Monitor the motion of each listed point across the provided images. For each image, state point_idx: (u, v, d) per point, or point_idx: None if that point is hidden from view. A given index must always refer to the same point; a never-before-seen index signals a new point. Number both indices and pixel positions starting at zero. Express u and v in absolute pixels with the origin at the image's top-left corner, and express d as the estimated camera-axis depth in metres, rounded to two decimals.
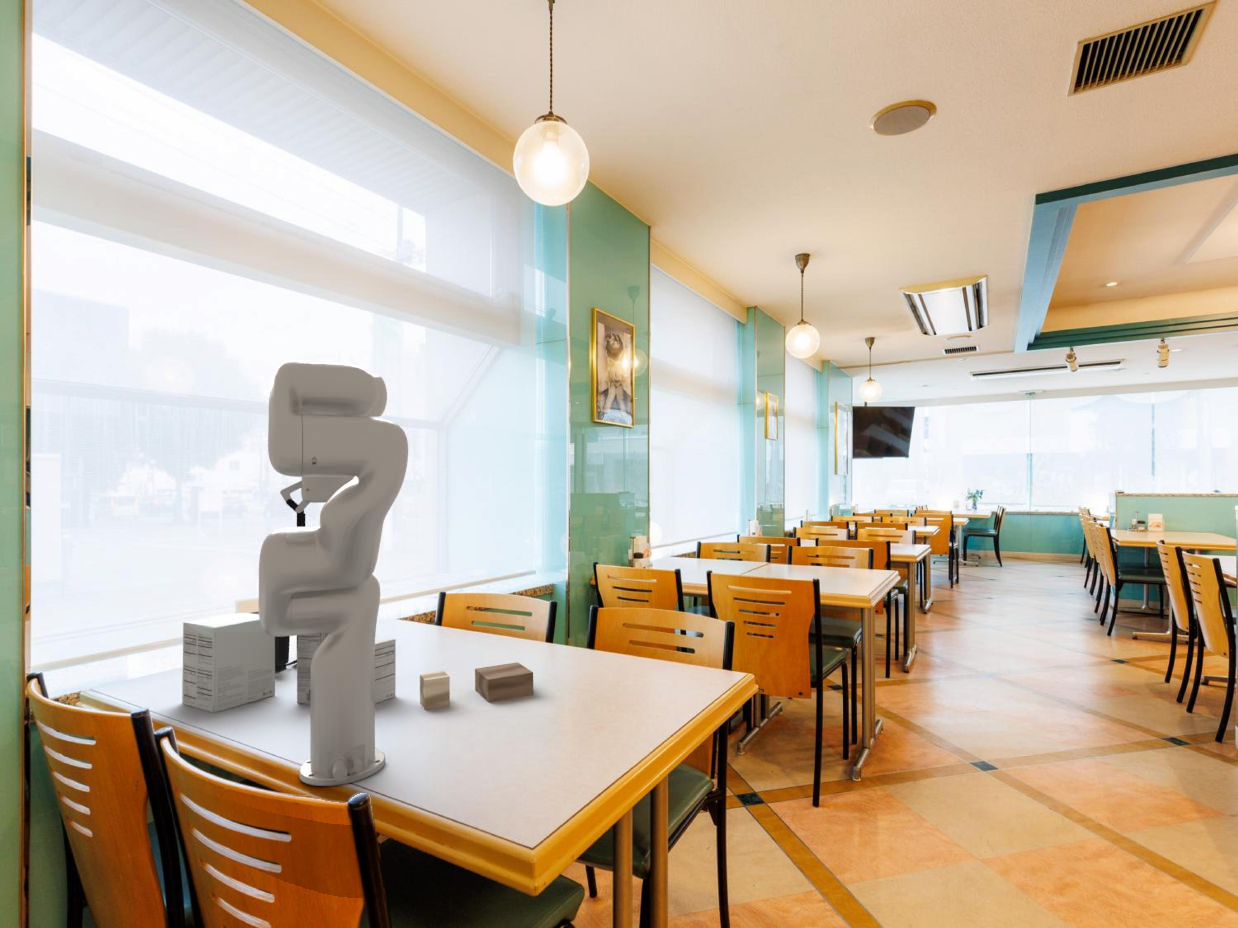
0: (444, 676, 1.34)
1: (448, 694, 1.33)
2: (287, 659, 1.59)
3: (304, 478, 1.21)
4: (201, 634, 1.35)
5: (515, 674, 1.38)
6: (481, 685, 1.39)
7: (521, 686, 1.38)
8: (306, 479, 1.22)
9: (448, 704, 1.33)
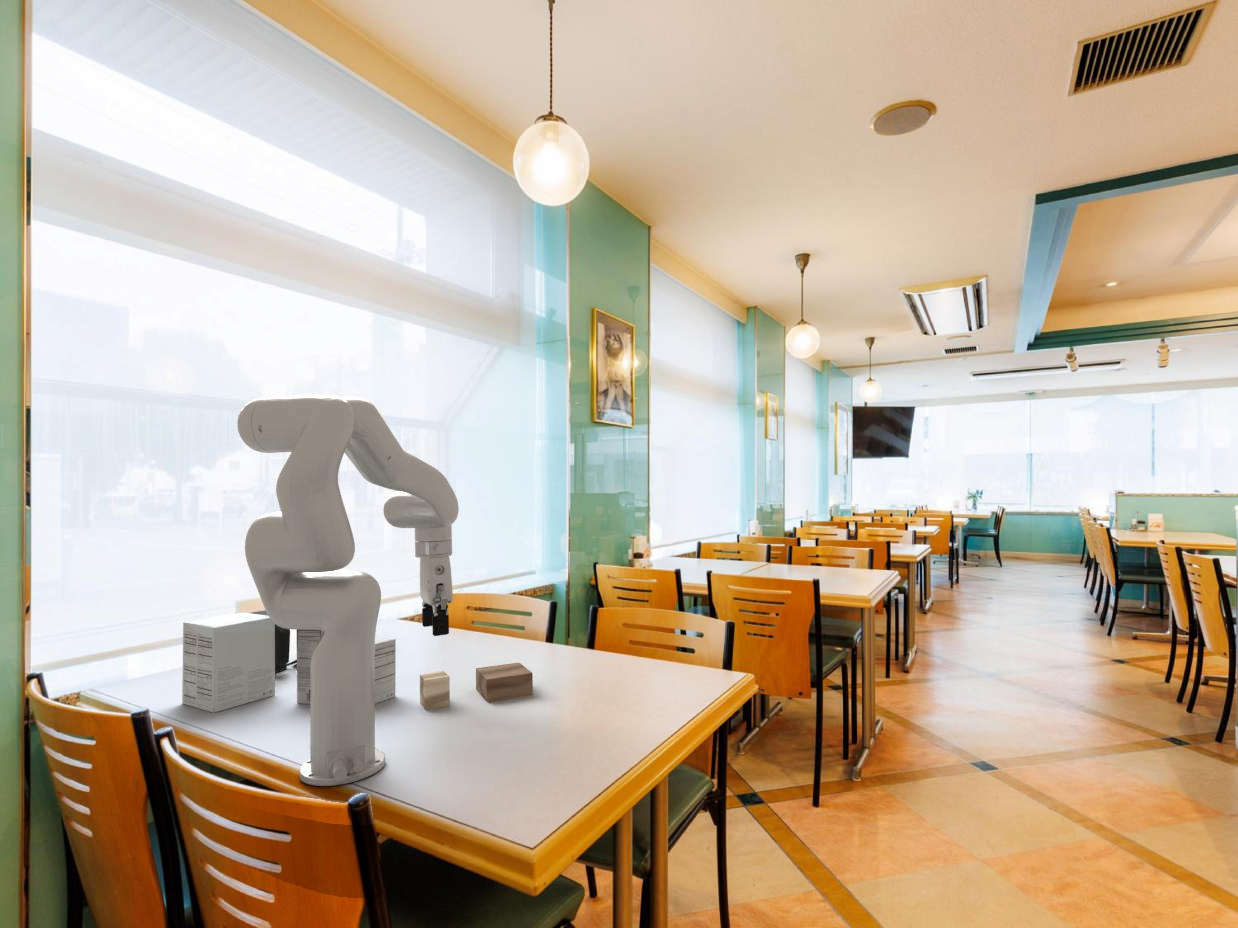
0: (444, 676, 1.34)
1: (448, 694, 1.33)
2: (287, 659, 1.60)
3: (451, 581, 1.33)
4: (201, 634, 1.35)
5: (514, 674, 1.38)
6: (481, 684, 1.40)
7: (520, 686, 1.38)
8: (451, 582, 1.33)
9: (448, 704, 1.33)
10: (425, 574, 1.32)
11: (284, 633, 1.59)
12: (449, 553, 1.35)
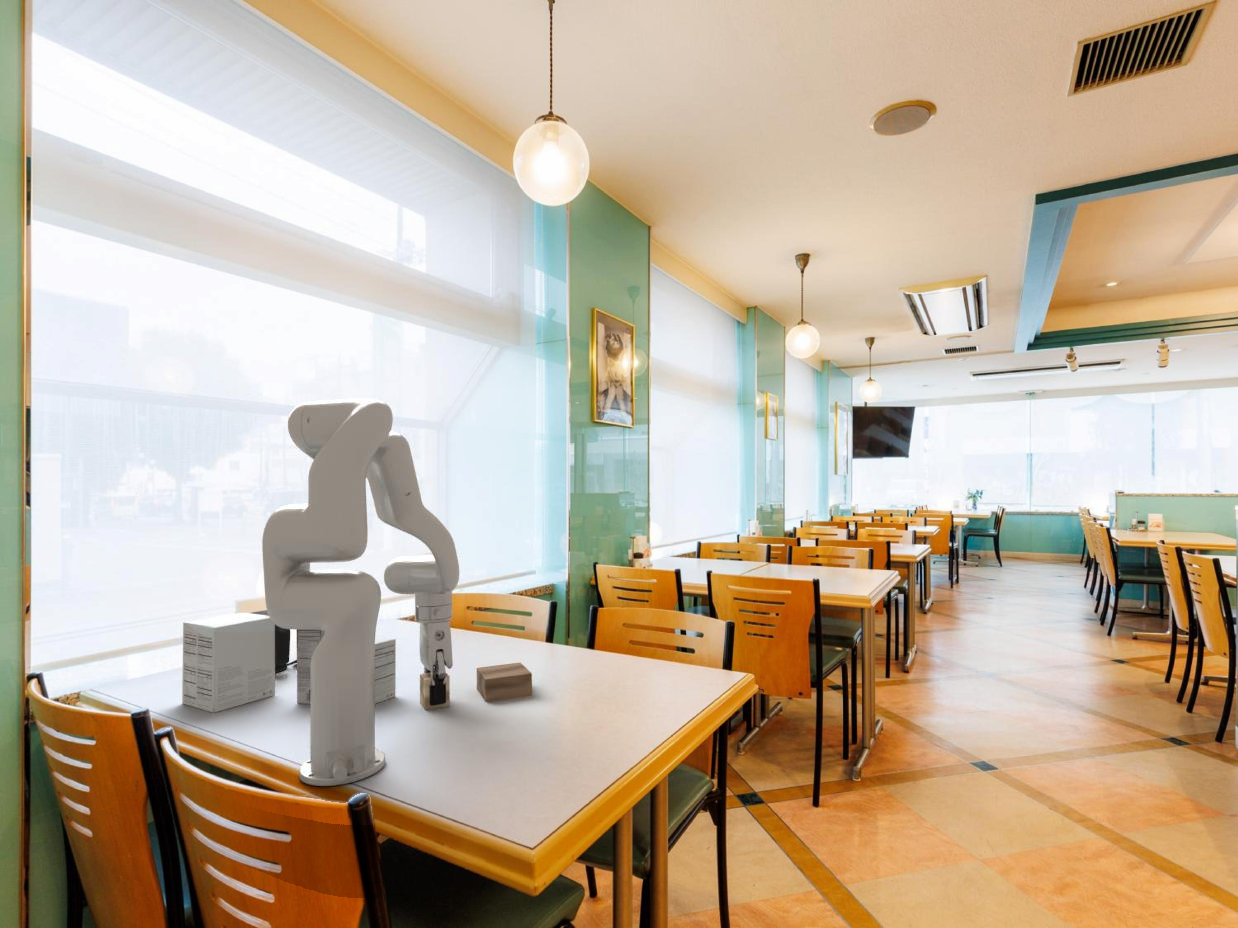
0: None
1: (448, 694, 1.33)
2: (288, 659, 1.60)
3: (451, 647, 1.32)
4: (201, 634, 1.35)
5: (513, 674, 1.38)
6: (480, 684, 1.40)
7: (519, 687, 1.38)
8: (451, 647, 1.32)
9: (448, 704, 1.33)
10: (425, 639, 1.31)
11: (284, 633, 1.59)
12: (449, 617, 1.34)
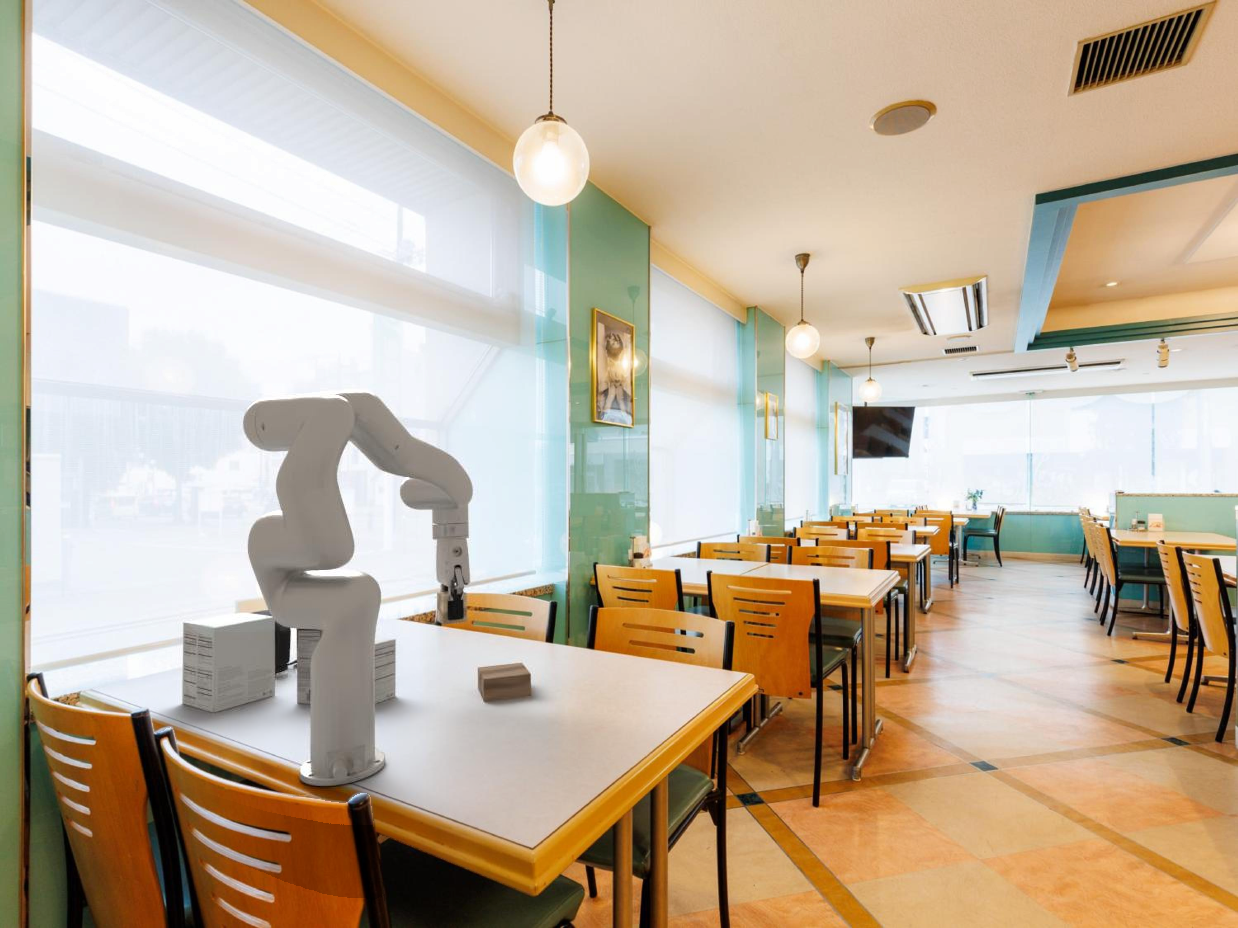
0: None
1: (466, 610, 1.36)
2: (288, 659, 1.60)
3: (468, 563, 1.35)
4: (201, 634, 1.35)
5: (512, 675, 1.38)
6: (480, 684, 1.40)
7: (518, 687, 1.38)
8: None
9: (465, 620, 1.36)
10: (443, 556, 1.34)
11: (285, 633, 1.59)
12: (466, 536, 1.37)
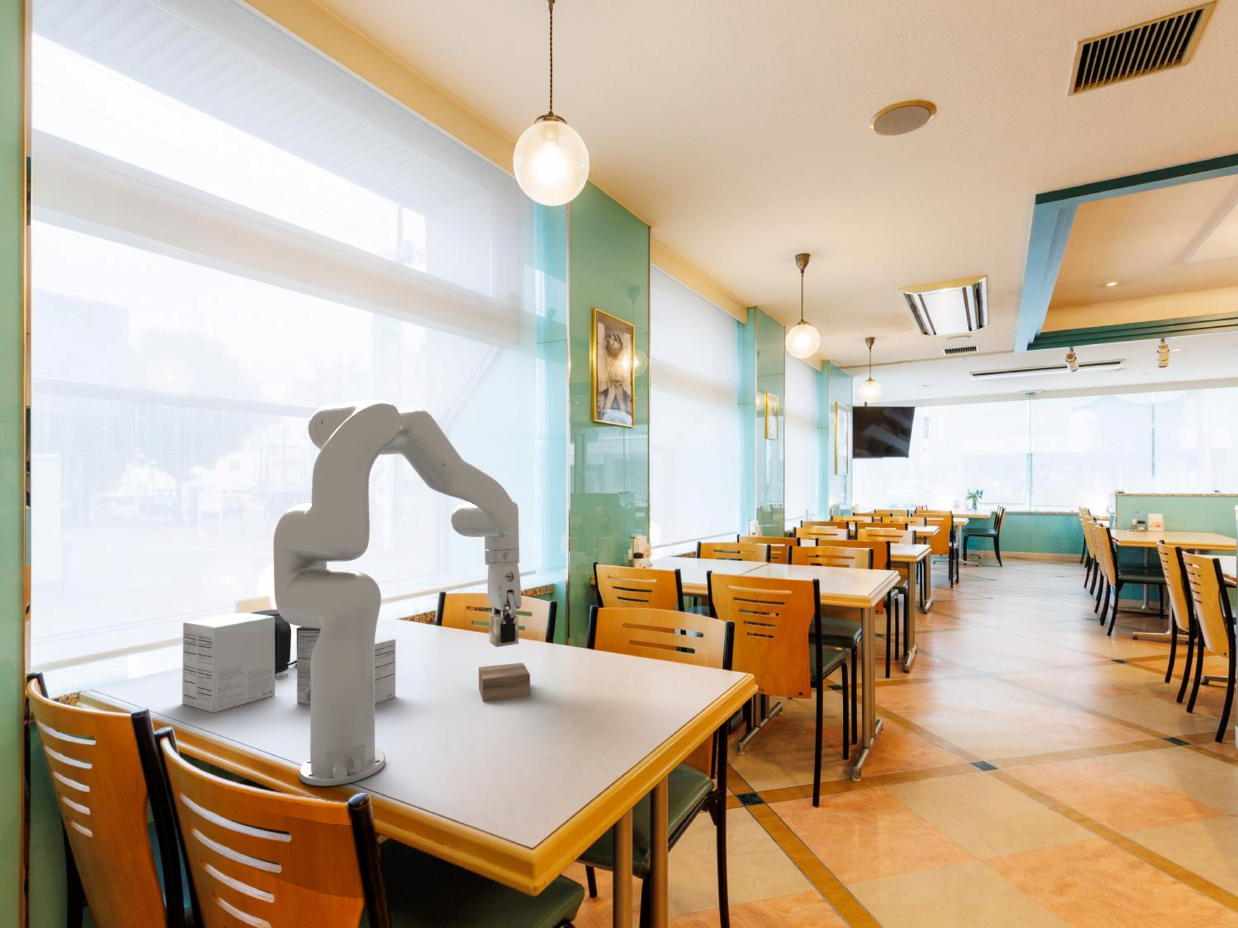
0: None
1: (517, 633, 1.41)
2: (288, 658, 1.60)
3: (520, 588, 1.40)
4: (201, 634, 1.35)
5: (511, 675, 1.38)
6: (480, 683, 1.40)
7: (517, 687, 1.37)
8: (520, 588, 1.40)
9: (517, 642, 1.41)
10: (496, 581, 1.39)
11: (285, 633, 1.59)
12: (517, 561, 1.42)
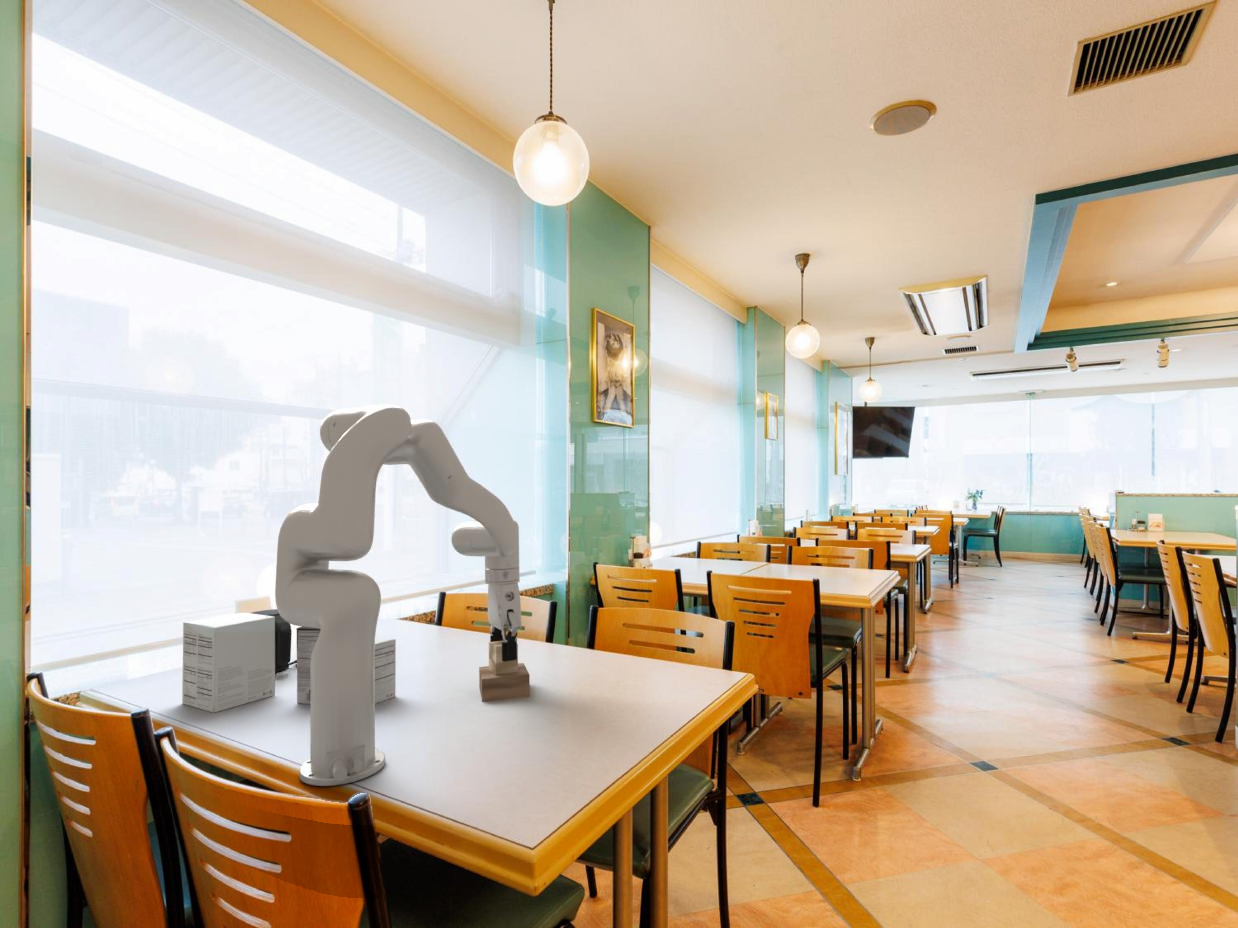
0: None
1: (517, 661, 1.41)
2: (289, 658, 1.60)
3: (520, 607, 1.39)
4: (201, 634, 1.35)
5: (511, 675, 1.38)
6: (480, 683, 1.40)
7: (516, 687, 1.37)
8: (520, 608, 1.40)
9: (516, 670, 1.40)
10: (496, 600, 1.39)
11: (286, 633, 1.59)
12: (517, 580, 1.42)
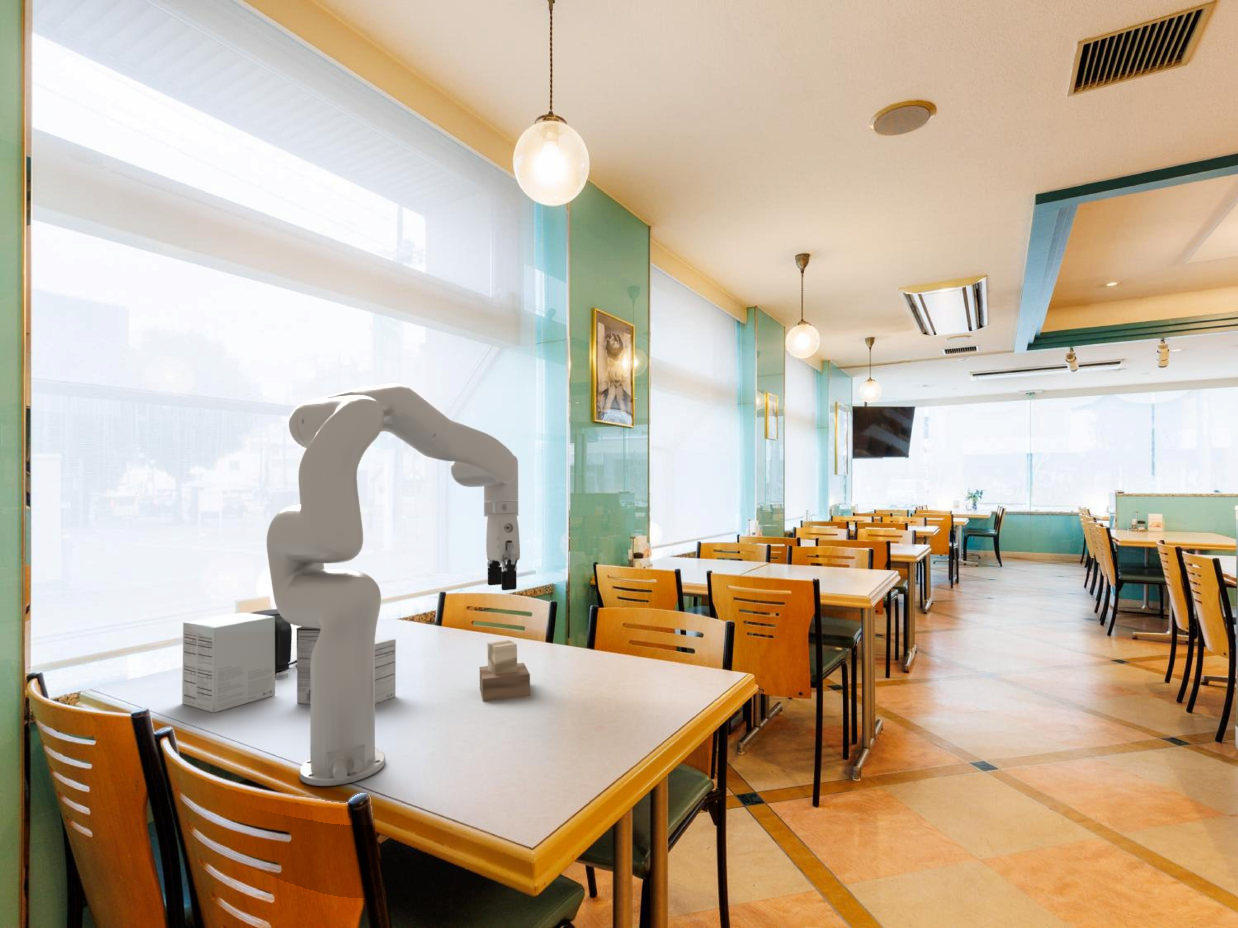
0: (512, 644, 1.41)
1: (516, 661, 1.41)
2: (289, 658, 1.60)
3: None
4: (201, 634, 1.35)
5: (511, 675, 1.38)
6: None
7: (517, 687, 1.38)
8: None
9: (516, 670, 1.41)
10: (495, 532, 1.39)
11: (286, 633, 1.59)
12: (516, 513, 1.42)
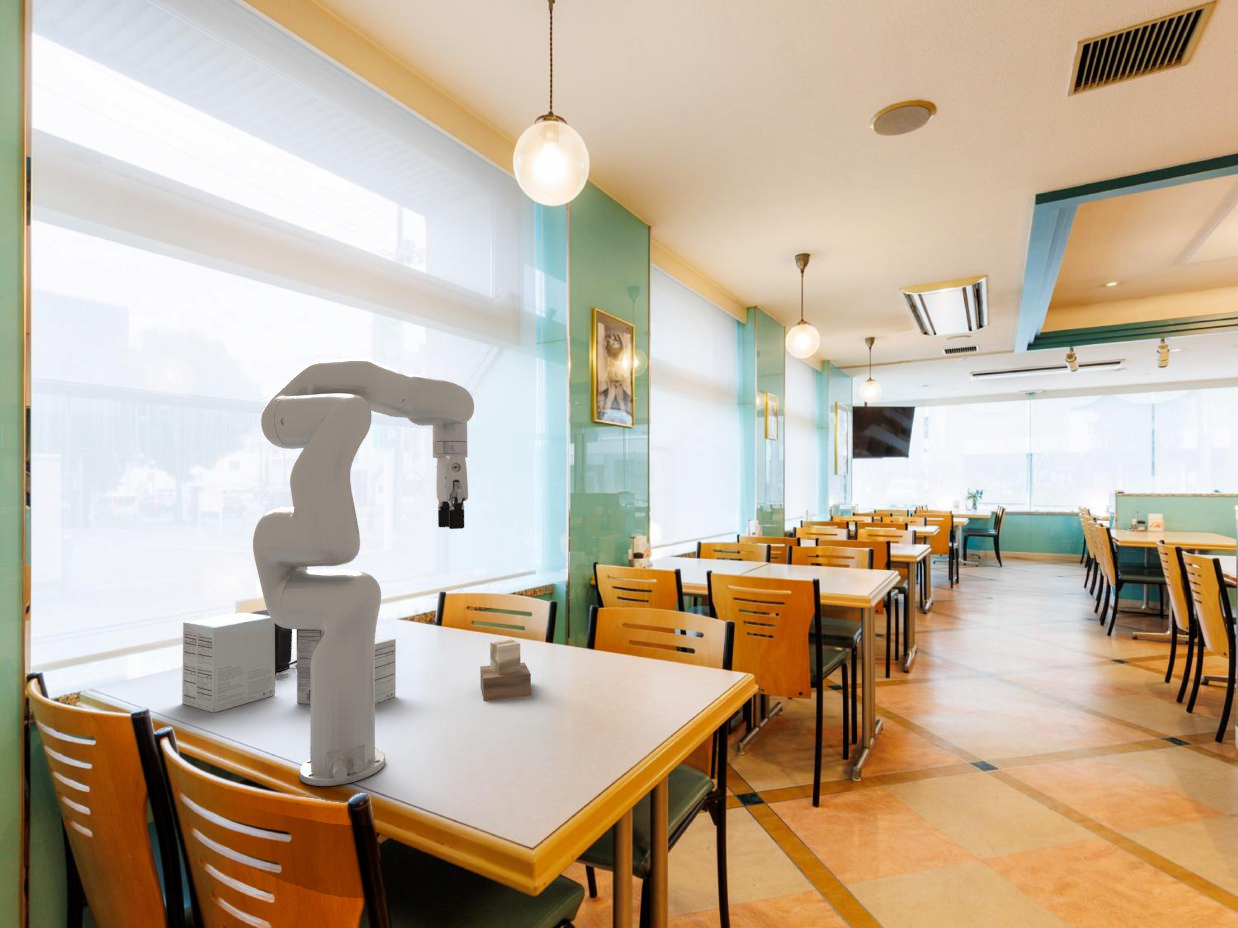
0: (515, 643, 1.42)
1: (519, 660, 1.41)
2: (289, 658, 1.60)
3: None
4: (201, 634, 1.35)
5: (512, 674, 1.38)
6: None
7: (518, 687, 1.38)
8: None
9: (519, 669, 1.41)
10: (442, 472, 1.40)
11: (286, 633, 1.60)
12: (465, 454, 1.42)
